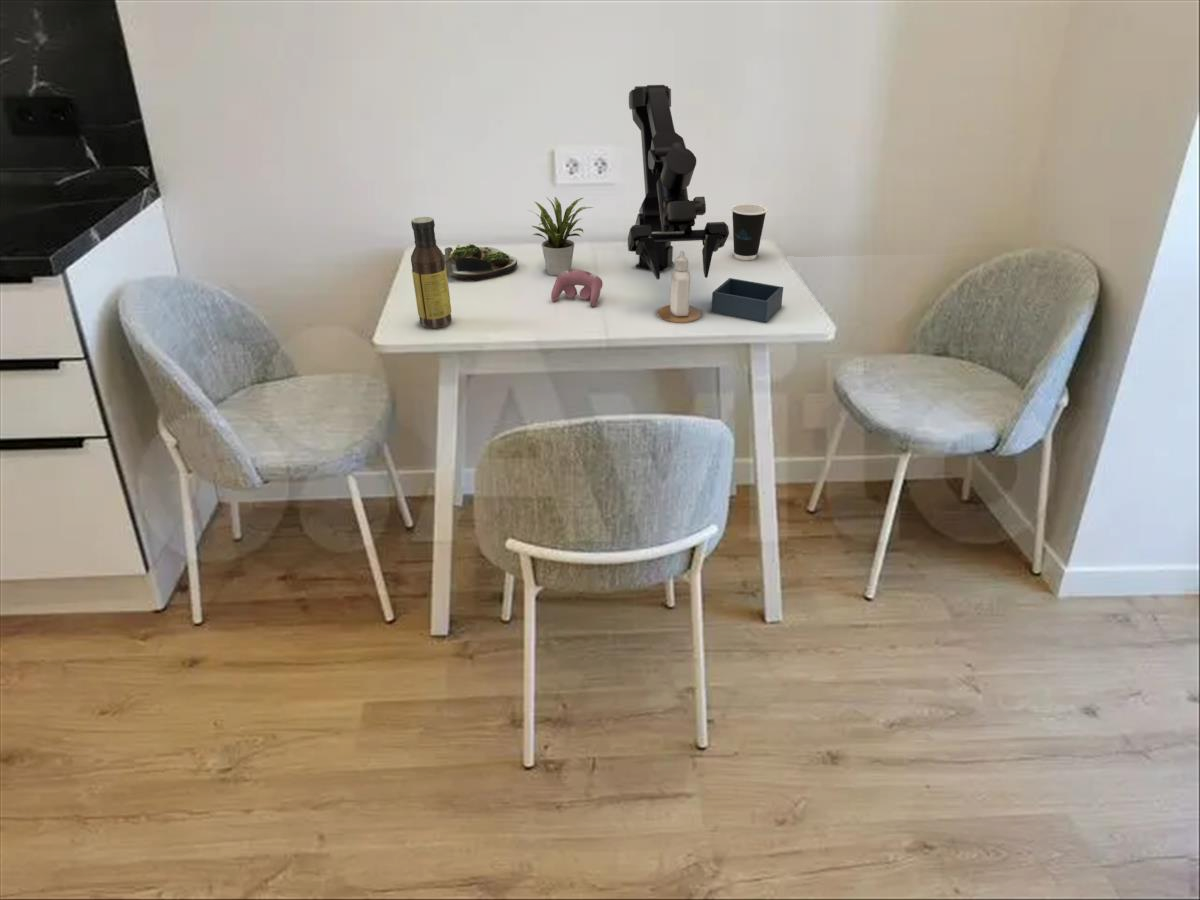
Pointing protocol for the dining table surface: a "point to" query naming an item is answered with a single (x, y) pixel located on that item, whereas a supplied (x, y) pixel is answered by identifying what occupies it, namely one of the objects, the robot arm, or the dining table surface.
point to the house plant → (558, 237)
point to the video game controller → (577, 277)
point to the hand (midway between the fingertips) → (682, 277)
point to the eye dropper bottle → (680, 287)
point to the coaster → (668, 316)
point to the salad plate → (477, 262)
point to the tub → (747, 300)
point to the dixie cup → (747, 229)
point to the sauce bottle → (429, 276)
